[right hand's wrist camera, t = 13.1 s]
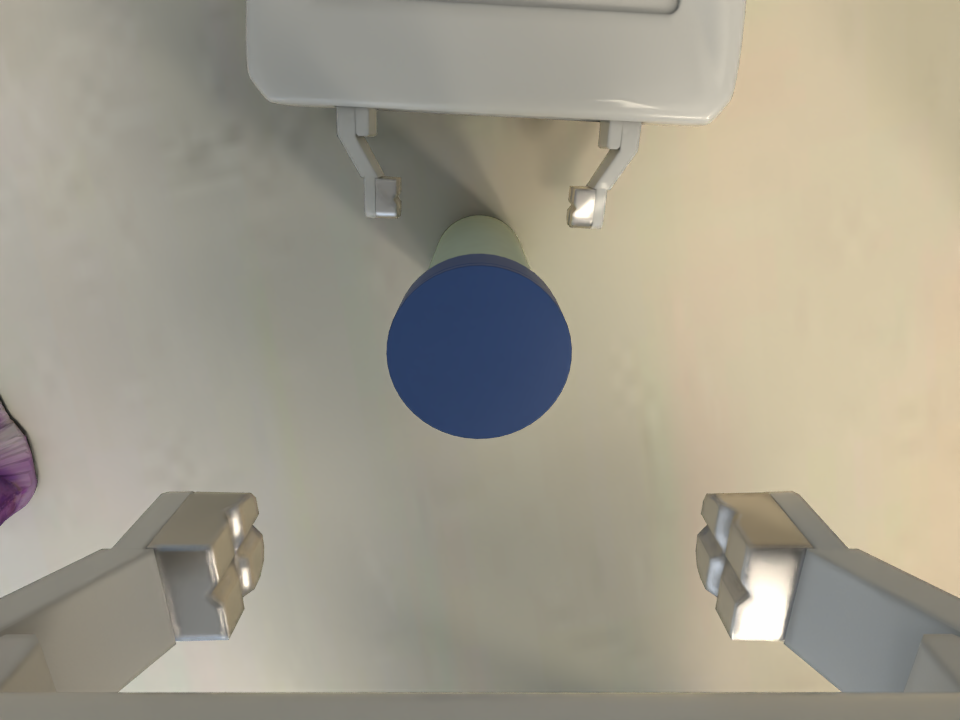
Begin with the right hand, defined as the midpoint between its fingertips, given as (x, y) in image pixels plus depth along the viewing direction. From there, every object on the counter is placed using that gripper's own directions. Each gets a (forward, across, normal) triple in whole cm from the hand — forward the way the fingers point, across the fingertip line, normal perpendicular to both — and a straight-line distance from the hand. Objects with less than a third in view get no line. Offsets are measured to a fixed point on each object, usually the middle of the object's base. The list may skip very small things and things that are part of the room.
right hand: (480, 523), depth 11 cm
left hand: (+19, 0, +3) cm, 19 cm away
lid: (+9, 0, 0) cm, 9 cm away
